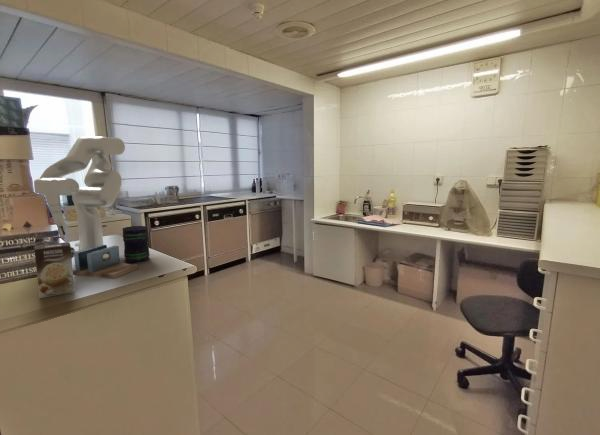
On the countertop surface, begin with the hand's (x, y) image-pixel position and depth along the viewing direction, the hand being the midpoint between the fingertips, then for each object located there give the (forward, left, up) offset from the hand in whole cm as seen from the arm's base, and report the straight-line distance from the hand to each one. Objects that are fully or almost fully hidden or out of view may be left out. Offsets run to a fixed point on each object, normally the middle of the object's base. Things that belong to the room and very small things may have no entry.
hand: (54, 252), depth 123 cm
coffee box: (+27, -21, -6) cm, 35 cm away
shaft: (+16, 0, -2) cm, 16 cm away
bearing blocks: (+22, 0, -4) cm, 22 cm away
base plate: (+25, 0, -6) cm, 25 cm away
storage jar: (+27, +15, -6) cm, 31 cm away
